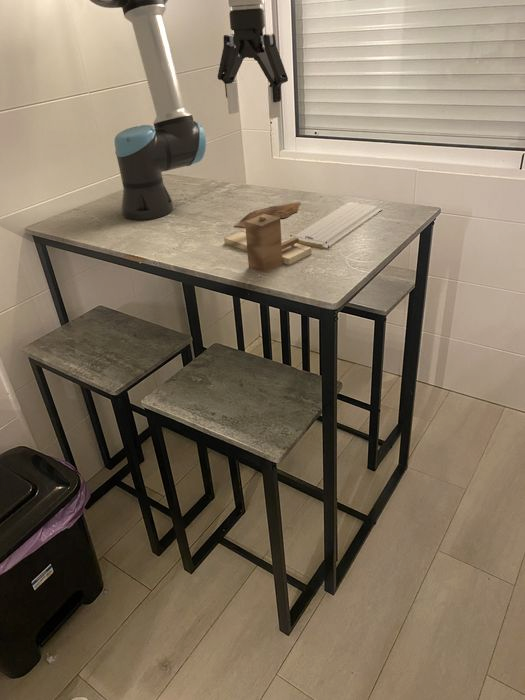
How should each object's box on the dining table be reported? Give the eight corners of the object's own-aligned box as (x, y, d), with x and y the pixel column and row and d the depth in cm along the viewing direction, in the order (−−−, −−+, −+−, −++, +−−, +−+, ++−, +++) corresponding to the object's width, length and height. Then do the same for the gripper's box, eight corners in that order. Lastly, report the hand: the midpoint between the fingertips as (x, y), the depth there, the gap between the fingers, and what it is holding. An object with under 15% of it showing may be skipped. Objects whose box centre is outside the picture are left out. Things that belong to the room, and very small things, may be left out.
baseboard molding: (387, 213, 148) (348, 207, 154) (387, 202, 147) (348, 197, 153) (332, 252, 128) (290, 244, 134) (332, 241, 126) (289, 233, 132)
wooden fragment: (248, 233, 141) (247, 229, 141) (223, 224, 148) (222, 220, 148) (316, 208, 155) (316, 204, 154) (290, 200, 162) (290, 197, 161)
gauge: (248, 267, 122) (244, 218, 116) (289, 248, 130) (287, 201, 124) (264, 273, 119) (261, 223, 113) (304, 252, 127) (303, 205, 121)
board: (224, 243, 135) (224, 237, 134) (247, 233, 140) (246, 228, 139) (289, 264, 122) (288, 258, 121) (311, 253, 127) (311, 247, 126)
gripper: (195, 11, 119) (206, 113, 130) (277, 6, 103) (281, 122, 115) (220, 9, 123) (229, 108, 135) (302, 4, 108) (304, 116, 119)
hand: (253, 115), depth 125 cm, fingers open, 13 cm apart
